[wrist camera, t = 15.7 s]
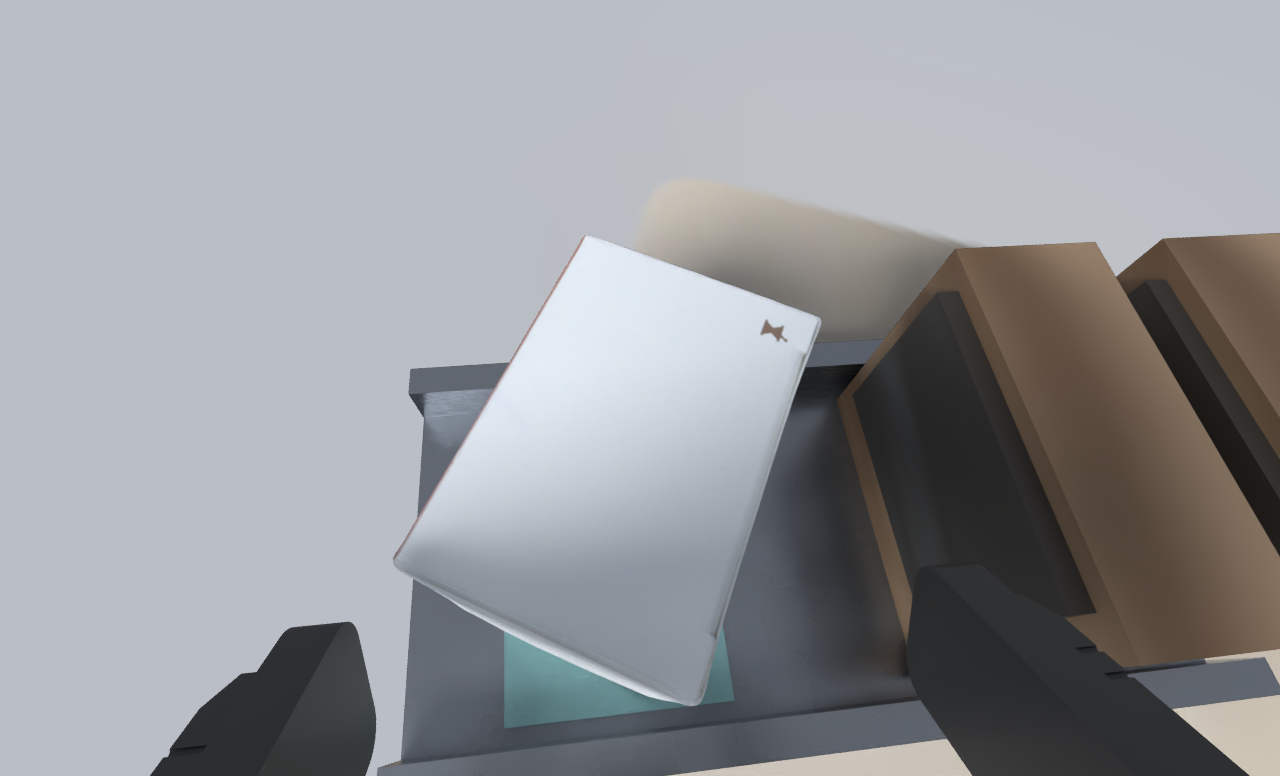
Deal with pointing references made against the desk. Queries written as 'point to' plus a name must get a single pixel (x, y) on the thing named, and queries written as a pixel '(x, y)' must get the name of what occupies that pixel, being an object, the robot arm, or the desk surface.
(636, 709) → the grey shallow tray
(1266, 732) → the desk surface
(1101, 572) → the twin brown uprights
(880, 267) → the desk surface
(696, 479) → the small box
